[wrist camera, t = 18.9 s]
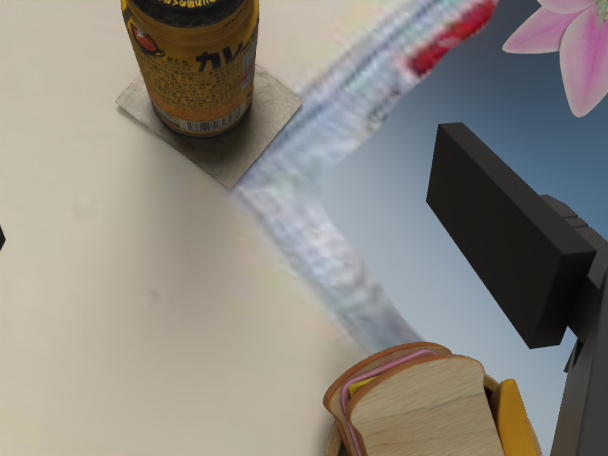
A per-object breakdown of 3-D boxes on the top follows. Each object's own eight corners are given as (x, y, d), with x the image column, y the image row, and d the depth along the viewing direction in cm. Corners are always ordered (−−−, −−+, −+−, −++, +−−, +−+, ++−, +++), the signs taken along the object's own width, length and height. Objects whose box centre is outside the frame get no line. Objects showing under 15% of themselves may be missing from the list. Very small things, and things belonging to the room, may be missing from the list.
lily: (459, -28, 37) (493, -62, 28) (630, -117, 35) (729, -186, 26) (520, 128, 40) (569, 145, 31) (683, 55, 37) (790, 49, 28)
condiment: (195, 19, 33) (174, -153, 21) (304, 102, 33) (343, -25, 21) (115, 103, 31) (45, -33, 19) (229, 191, 31) (228, 107, 19)
